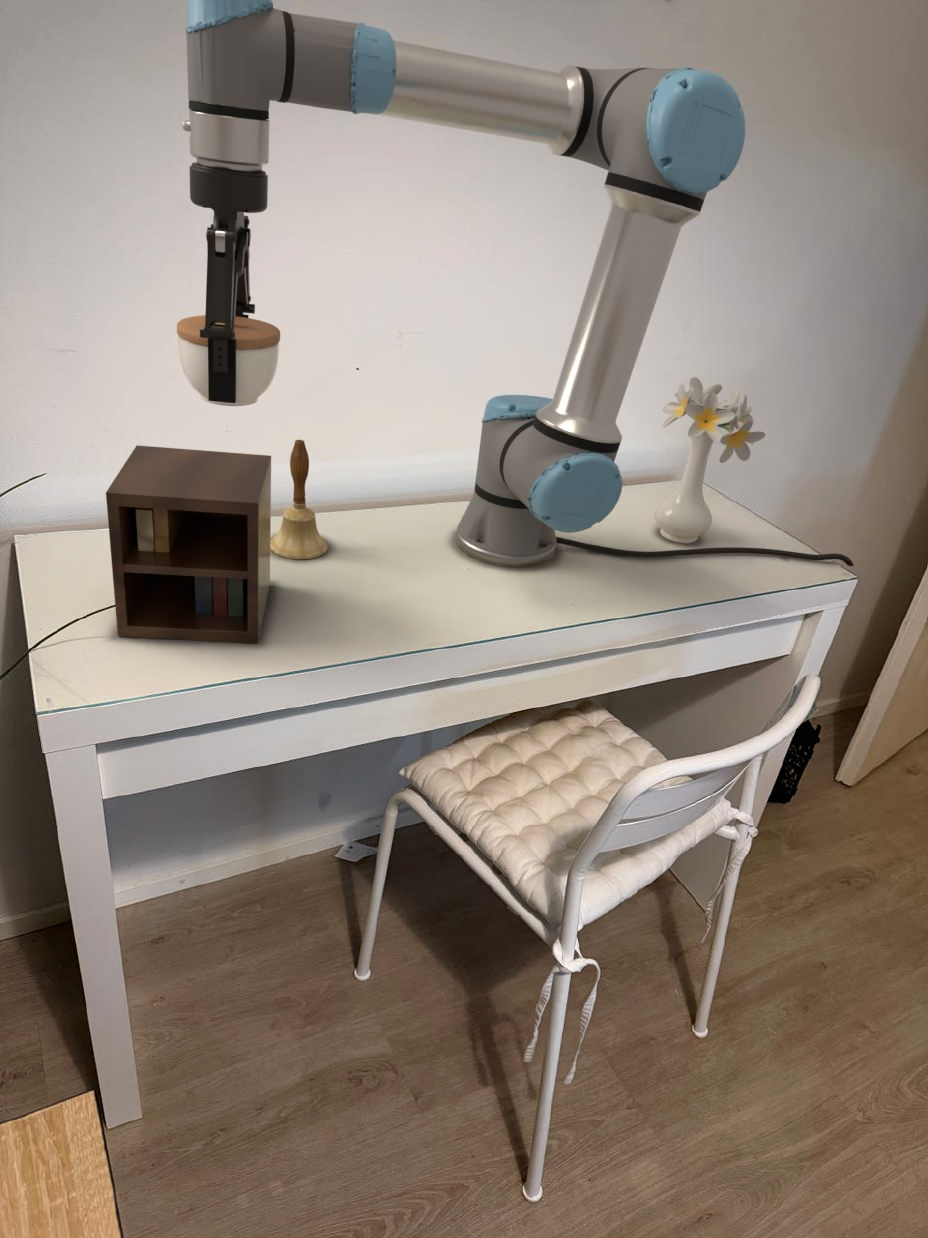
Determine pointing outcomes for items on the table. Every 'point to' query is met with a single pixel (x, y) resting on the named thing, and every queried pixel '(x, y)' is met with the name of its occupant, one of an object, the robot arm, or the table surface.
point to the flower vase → (702, 455)
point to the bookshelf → (190, 544)
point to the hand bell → (299, 516)
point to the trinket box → (252, 357)
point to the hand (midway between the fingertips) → (229, 385)
